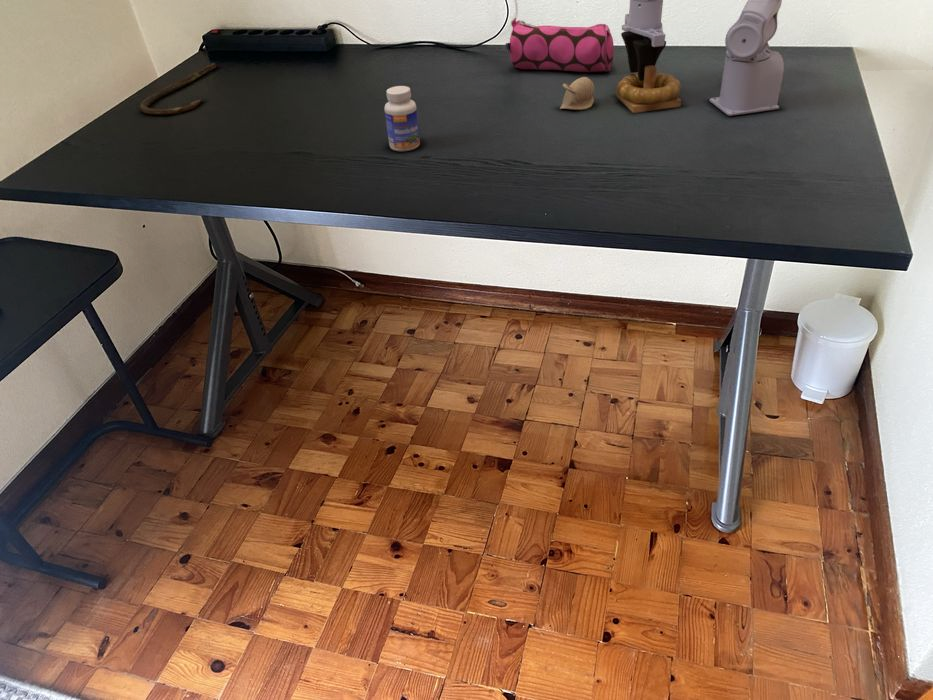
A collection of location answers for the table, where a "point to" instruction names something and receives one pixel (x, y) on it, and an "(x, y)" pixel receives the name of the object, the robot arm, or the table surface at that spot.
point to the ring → (664, 92)
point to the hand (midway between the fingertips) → (640, 75)
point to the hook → (169, 90)
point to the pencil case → (561, 47)
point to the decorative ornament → (578, 94)
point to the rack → (650, 84)
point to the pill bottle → (401, 119)
